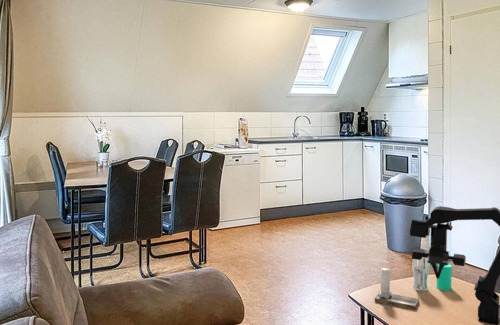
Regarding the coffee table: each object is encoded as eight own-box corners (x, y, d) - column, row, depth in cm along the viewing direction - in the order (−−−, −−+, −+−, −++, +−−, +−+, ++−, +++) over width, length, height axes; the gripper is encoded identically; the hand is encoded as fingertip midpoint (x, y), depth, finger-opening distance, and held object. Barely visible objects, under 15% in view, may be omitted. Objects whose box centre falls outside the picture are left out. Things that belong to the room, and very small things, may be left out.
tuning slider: (391, 294, 179) (391, 268, 178) (387, 299, 174) (387, 273, 173) (381, 292, 181) (382, 266, 180) (377, 297, 176) (377, 271, 175)
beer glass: (408, 286, 191) (409, 254, 190) (421, 284, 193) (422, 252, 192) (419, 292, 185) (419, 259, 183) (432, 290, 187) (432, 257, 185)
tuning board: (419, 302, 175) (419, 298, 175) (415, 310, 168) (415, 305, 168) (379, 294, 183) (379, 291, 183) (374, 301, 177) (374, 297, 177)
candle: (452, 290, 186) (453, 264, 184) (438, 290, 187) (438, 263, 186) (449, 285, 191) (450, 259, 190) (435, 284, 193) (435, 259, 191)
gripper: (409, 241, 163) (408, 280, 165) (463, 248, 153) (462, 290, 155) (414, 234, 172) (414, 271, 174) (466, 240, 163) (465, 279, 164)
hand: (437, 278), depth 166 cm, fingers closed
